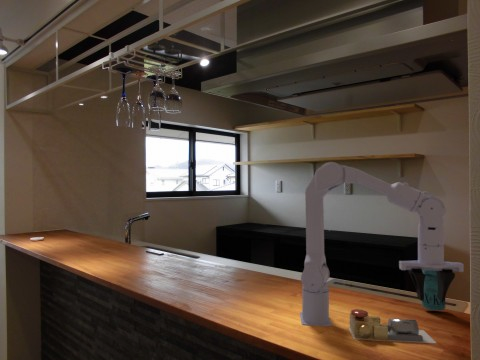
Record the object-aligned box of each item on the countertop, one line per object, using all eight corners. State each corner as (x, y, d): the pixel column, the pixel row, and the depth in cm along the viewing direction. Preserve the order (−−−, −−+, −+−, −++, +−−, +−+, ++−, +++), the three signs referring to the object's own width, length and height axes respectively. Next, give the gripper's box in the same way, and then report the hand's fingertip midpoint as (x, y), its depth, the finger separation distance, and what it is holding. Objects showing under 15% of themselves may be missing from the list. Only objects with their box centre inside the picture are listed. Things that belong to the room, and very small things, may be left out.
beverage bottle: (420, 307, 114) (420, 243, 114) (444, 310, 111) (444, 244, 112) (422, 314, 108) (421, 246, 108) (447, 317, 105) (447, 247, 106)
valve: (347, 325, 97) (347, 305, 97) (378, 327, 97) (378, 306, 97) (355, 340, 88) (355, 318, 88) (389, 342, 87) (389, 319, 87)
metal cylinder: (387, 329, 94) (388, 315, 93) (412, 330, 93) (413, 316, 92) (392, 339, 90) (393, 324, 89) (418, 340, 89) (419, 325, 88)
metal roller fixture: (347, 328, 97) (347, 322, 97) (423, 331, 95) (423, 325, 95) (354, 340, 89) (354, 334, 89) (436, 344, 87) (436, 338, 87)
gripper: (405, 246, 88) (406, 303, 88) (470, 247, 86) (470, 306, 86) (396, 242, 95) (396, 295, 95) (455, 243, 93) (455, 297, 93)
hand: (430, 299), depth 91 cm, fingers open, 4 cm apart
